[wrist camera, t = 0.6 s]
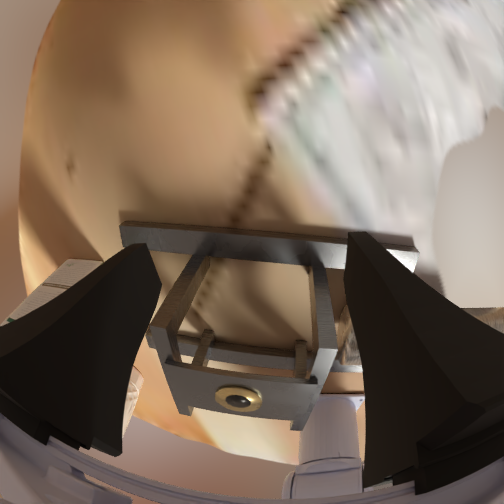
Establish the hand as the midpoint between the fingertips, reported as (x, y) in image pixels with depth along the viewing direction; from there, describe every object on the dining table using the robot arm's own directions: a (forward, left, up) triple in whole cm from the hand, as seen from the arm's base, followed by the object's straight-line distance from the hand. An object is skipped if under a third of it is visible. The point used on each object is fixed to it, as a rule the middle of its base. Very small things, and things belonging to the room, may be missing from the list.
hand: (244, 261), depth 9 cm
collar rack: (-11, 0, -10) cm, 15 cm away
